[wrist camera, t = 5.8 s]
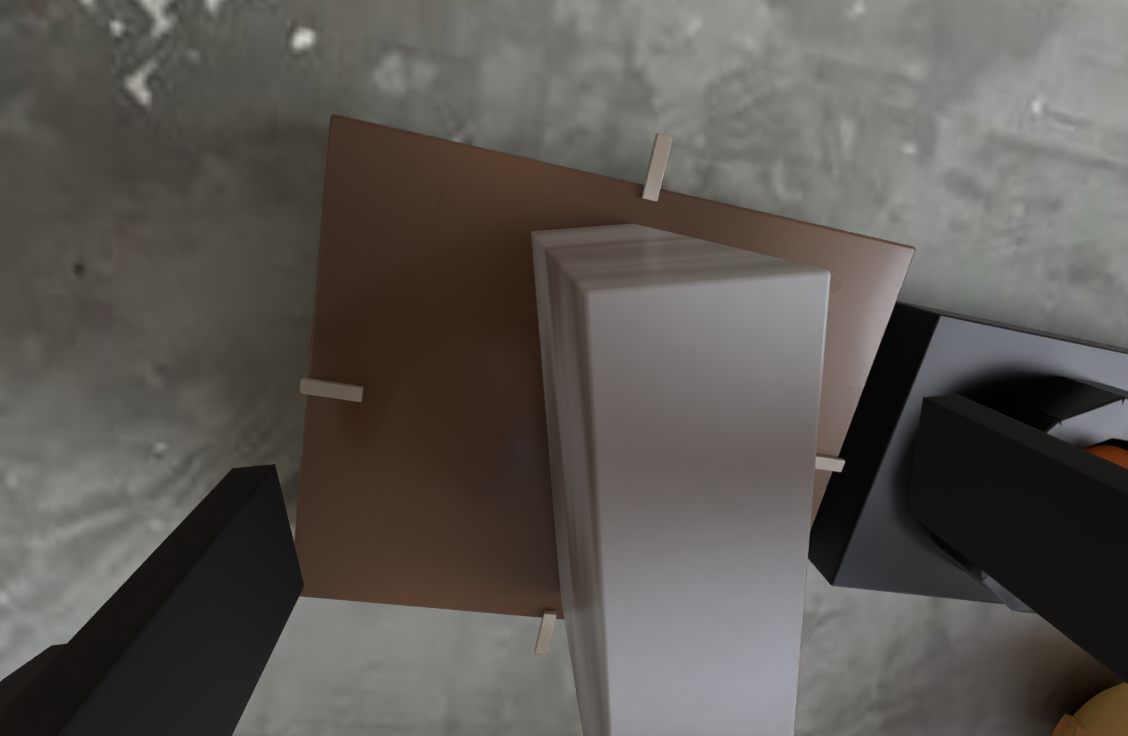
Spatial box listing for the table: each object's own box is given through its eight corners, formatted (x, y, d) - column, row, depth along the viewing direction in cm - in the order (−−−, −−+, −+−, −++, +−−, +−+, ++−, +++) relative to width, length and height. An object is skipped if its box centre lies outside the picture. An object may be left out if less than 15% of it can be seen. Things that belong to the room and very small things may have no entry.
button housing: (795, 545, 20) (866, 628, 16) (887, 298, 18) (994, 328, 14) (1050, 575, 22) (1167, 656, 18) (1165, 356, 19) (1328, 397, 16)
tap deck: (315, 560, 18) (279, 635, 15) (363, 81, 14) (326, 51, 11) (725, 600, 20) (765, 671, 17) (862, 200, 16) (943, 202, 14)
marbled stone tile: (530, 230, 13) (587, 295, 5) (634, 223, 13) (848, 273, 5) (560, 595, 16) (624, 992, 8) (644, 584, 16) (786, 961, 8)
